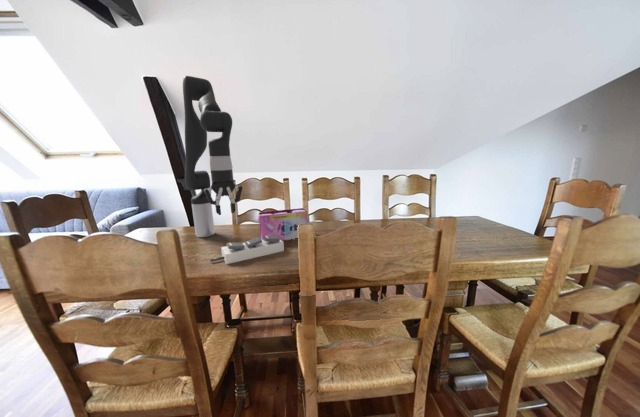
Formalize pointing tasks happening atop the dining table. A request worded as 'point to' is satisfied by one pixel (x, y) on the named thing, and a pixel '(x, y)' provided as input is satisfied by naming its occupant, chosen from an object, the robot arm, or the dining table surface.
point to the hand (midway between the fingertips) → (226, 213)
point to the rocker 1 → (235, 246)
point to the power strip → (250, 251)
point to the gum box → (282, 223)
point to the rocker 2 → (253, 242)
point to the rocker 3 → (271, 238)
